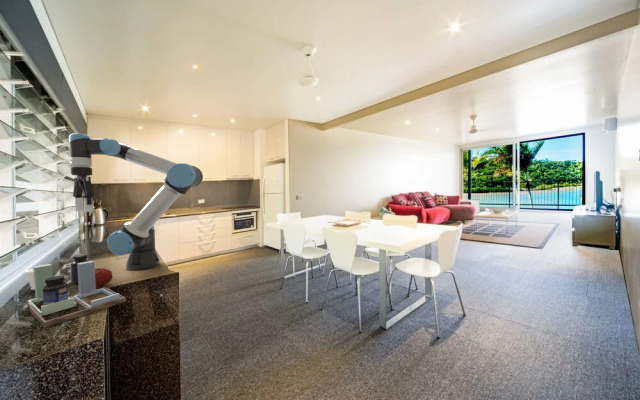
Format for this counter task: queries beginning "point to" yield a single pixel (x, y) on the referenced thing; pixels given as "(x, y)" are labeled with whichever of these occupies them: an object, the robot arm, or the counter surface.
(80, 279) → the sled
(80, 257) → the supplement bottle
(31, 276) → the cup
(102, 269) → the tomato
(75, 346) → the counter surface
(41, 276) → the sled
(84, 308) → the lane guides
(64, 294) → the pill bottle
